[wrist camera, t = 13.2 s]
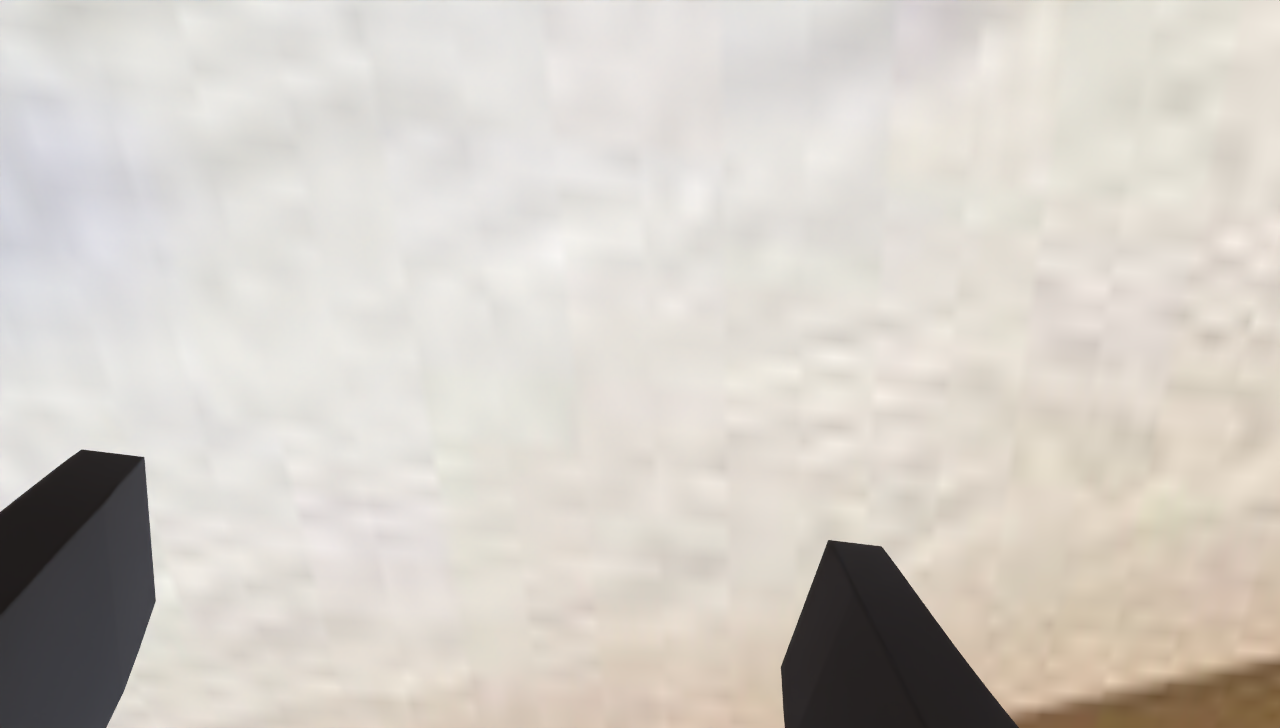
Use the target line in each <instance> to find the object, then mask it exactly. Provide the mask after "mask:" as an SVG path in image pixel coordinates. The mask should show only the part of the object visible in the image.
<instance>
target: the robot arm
mask: <svg viewBox="0 0 1280 728" xmlns="http://www.w3.org/2000/svg"><path fill="white" fill-rule="evenodd" d="M155 601H156V599H155V587H154V574H153V561H152V549H151V536H150V523H149V511H148V498H147V485H146V473H145V460H144V457H138V456H130V455H122V454H114V453H105V452H97V451H89V450H80V451H79V452H78V453H76V454H75V455H73V456H72V457H70V458H69V459H68V460H66V461H65V462H64V463H62V464H61V465H60V466H59V467H57V468H56V469H55V470H53V471H52V472H51V473H49V474H48V475H47V476H46V477H44V478H43V479H42V480H40V481H39V482H38V483H37V484H35V485H34V486H33V487H31V488H30V489H29V490H28V491H26V492H25V493H24V494H23V495H21V496H20V497H19V498H17V499H16V500H15V501H14V502H12V503H11V504H10V505H9V506H7V507H6V508H5V509H3V510H2V511H1V512H0V728H106V727H107V725H108V723H109V721H110V719H111V717H112V715H113V713H114V710H115V708H116V706H117V704H118V702H119V700H120V698H121V696H122V694H123V692H124V689H125V686H126V684H127V681H128V678H129V676H130V673H131V670H132V667H133V665H134V662H135V659H136V657H137V654H138V651H139V648H140V645H141V642H142V639H143V636H144V634H145V631H146V628H147V625H148V622H149V619H150V616H151V613H152V610H153V607H154V604H155ZM781 675H782V692H783V709H784V722H785V728H1019V727H1018V726H1017V725H1016V724H1015V722H1014V721H1013V720H1012V719H1011V718H1010V716H1009V715H1008V714H1007V713H1006V712H1005V710H1004V709H1003V708H1002V707H1001V705H1000V704H999V703H998V701H997V700H996V699H995V698H994V696H993V695H992V694H991V693H990V691H989V690H988V689H987V688H986V686H985V685H984V684H983V682H982V681H981V680H980V678H979V677H978V676H977V675H976V673H975V672H974V671H973V669H972V668H971V667H970V666H969V664H968V663H967V662H966V660H965V659H964V658H963V656H962V655H961V654H960V652H959V651H958V650H957V648H956V647H955V646H954V644H953V643H952V642H951V640H950V639H949V638H948V636H947V635H946V633H945V632H944V631H943V629H942V628H941V627H940V625H939V624H938V623H937V621H936V620H935V619H934V617H933V616H932V614H931V613H930V612H929V610H928V609H927V608H926V606H925V605H924V603H923V602H922V601H921V599H920V598H919V597H918V595H917V594H916V592H915V591H914V590H913V588H912V587H911V586H910V584H909V583H908V581H907V580H906V579H905V577H904V576H903V574H902V573H901V572H900V570H899V569H898V568H897V566H896V565H895V564H894V562H893V561H892V560H891V558H890V557H889V556H888V554H887V553H886V552H885V550H884V549H883V548H882V547H881V546H873V545H865V544H856V543H848V542H840V541H832V540H828V542H827V545H826V548H825V550H824V553H823V556H822V559H821V561H820V564H819V567H818V569H817V572H816V575H815V577H814V580H813V583H812V585H811V588H810V591H809V593H808V596H807V599H806V601H805V604H804V607H803V609H802V612H801V615H800V617H799V620H798V623H797V625H796V628H795V631H794V633H793V636H792V639H791V641H790V644H789V647H788V649H787V652H786V655H785V658H784V660H783V663H782V666H781Z"/></svg>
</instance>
